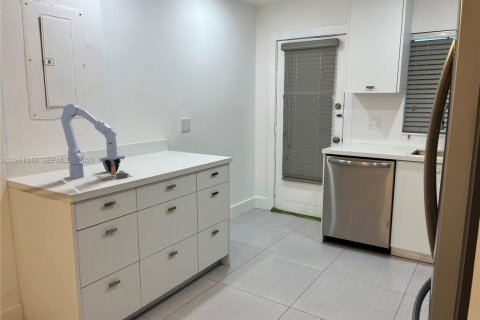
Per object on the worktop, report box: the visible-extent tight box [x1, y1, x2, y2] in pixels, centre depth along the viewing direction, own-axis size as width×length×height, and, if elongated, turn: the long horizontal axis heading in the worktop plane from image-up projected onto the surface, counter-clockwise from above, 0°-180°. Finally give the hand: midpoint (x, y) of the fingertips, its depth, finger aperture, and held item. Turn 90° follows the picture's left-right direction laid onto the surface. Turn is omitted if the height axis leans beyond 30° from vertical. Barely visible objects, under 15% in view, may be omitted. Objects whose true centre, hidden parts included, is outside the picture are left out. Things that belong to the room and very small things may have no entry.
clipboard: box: [95, 172, 134, 182], centre depth 217 cm, size 14×18×1 cm
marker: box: [109, 163, 117, 175], centre depth 218 cm, size 3×3×7 cm
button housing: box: [116, 171, 129, 180], centre depth 215 cm, size 5×5×2 cm
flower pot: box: [102, 160, 120, 173], centre depth 235 cm, size 9×9×9 cm
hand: (113, 171), depth 218 cm, fingers closed on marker, 3 cm apart
